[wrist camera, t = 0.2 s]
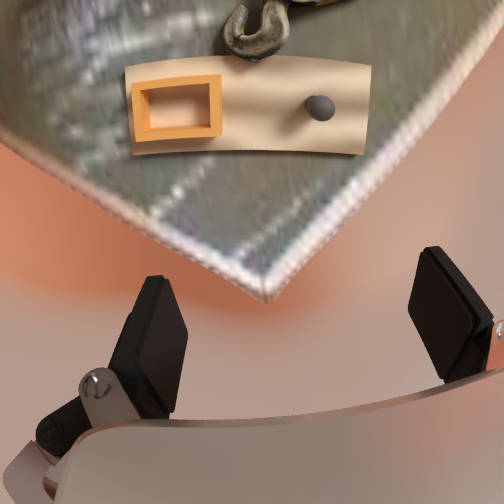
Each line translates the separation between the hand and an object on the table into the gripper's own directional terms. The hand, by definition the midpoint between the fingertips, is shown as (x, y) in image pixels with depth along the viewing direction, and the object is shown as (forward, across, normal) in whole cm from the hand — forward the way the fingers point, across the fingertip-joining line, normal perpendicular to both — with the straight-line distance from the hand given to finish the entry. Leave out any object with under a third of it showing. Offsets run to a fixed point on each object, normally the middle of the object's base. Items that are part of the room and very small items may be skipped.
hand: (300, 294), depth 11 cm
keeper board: (+30, +2, -5) cm, 31 cm away
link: (+29, +10, -6) cm, 31 cm away
